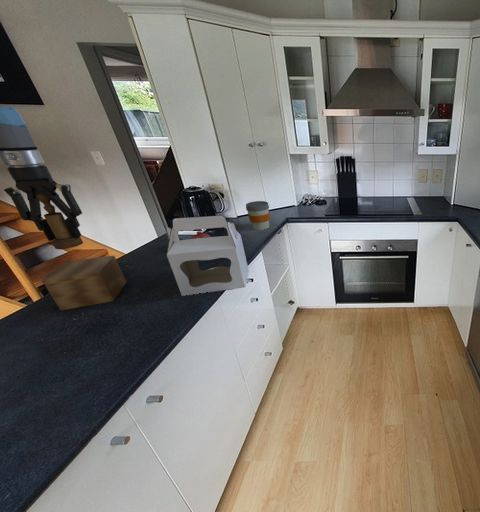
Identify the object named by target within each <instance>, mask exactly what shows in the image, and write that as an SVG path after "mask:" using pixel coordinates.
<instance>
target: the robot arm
mask: <svg viewBox="0 0 480 512" xmlns="http://www.w3.org/2000/svg"><path fill="white" fill-rule="evenodd" d="M0 158H1V160H2V162H3V164H4V165H5V166H7V171H8V173H9V175H10V176H11V178H12V180H14V182H15V186H10V187H6V188H4V190H3V191H4V192H5V193H6V194H7V195H8V196H9V197H10V198H11V200H12V202H13V204H14V206H15V208H16V210H17V212H18V214H19V215H20V217H21V219H22V220H23V221H25V222H26V221H29V222H30V221H31V222H32V223H34V225H35V227H36V228H37V230H38V231H39V232H43V234H44V235H45V237H46V239H47V241H48V242H52V241H54V239H55V238H56V237H55V235H54V233H53V231H52V230H51V228H50V226H49V224H48V222H47V221H46V219H45V218H44V216H43V215H42V209H41V202H40V201H39V200H37V199H36V196H37V195H38V194H42V195H44V196H46V197H47V198H48V199H49V200H51V201H50V202H52V203H53V205H54V206H55V207H57V209H58V210H59V211H60V212H61V213H62V215H63V216H65V217H66V218H64V219H65V221H66V222H67V224H68V226H69V228H70V230H71V232H72V234H73V236H74V238H78V237H81V236H82V233H81V231H80V229H79V227H80V226H81V224H80V222H79V220H78V218H77V217H79V216H81V215H82V214H83V211H82V209H81V207H80V206H79V204H78V202H77V201H76V198H75V196H74V195H73V193H72V187H71V185H70V184H67V183H66V184H62V183H57V182H56V180H54V179H53V176H52V174H51V172H50V170H49V168H48V166H47V165H45V160H44V158H43V156H42V155H41V152H40V151H39V149H38V147H37V146H36V144H35V141H34V139H33V137H32V134H31V133H30V130H29V129H28V126H27V123H26V122H25V121H24V119H23V118H22V116H21V114H20V112H19V111H18V110H17V109H16V108H14V107H11V106H1V105H0ZM57 189H58V191H59V192H61V195H62V196H63V198H64V200H65V201H64V200H63V199H62V197H60V194H58V192H56V190H57ZM22 192H23V193H25V194H26V199H27V201H28V203H29V205H28V204H27V202H26V200H25V198H24V196H23V194H22Z"/></svg>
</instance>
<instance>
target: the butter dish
mask: <svg viewBox="0 0 480 512" xmlns="http://www.w3.org/2000/svg"><path fill="white" fill-rule="evenodd" d="M209 237H211V236H210V234H208V233H203V231H201V230H199V231H196V234H194V235H192V236H191V237H190V239H197V238H209Z"/></svg>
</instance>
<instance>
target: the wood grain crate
mask: <svg viewBox="0 0 480 512" xmlns="http://www.w3.org/2000/svg"><path fill="white" fill-rule="evenodd" d="M41 282H42V283H43V285H44V287H45V288H46V290H47V291H48V293H49V294H50V296H51V297H52V299H53V301H54V302H55V304H56V305H57V307H58V309H59V310H60V311H66V310H72V309H76V308H82V307H87V306H88V307H89V306H95V305H99V304H104V303H110V302H111V303H112V302H114V301H115V299H116V298H117V297H118V296H119V294H120V293H121V292H122V290H123V288H124V287H125V286H126V284H127V280H126V278H125V276H124V273H123V272H122V269H121V267H120V265H119V263H118V261H117V258H116V256H115V255H107V256H101V257H92V258H85V259H77V260H71V261H70V260H69V261H64V262H63V263H61V264H60V265H59V266H58V267H56V269H54V270H53V271H52V272H50V273H49V274H48V275H47V276H45V277H44V278H43V279H41Z"/></svg>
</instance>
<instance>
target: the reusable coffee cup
mask: <svg viewBox="0 0 480 512" xmlns="http://www.w3.org/2000/svg"><path fill="white" fill-rule="evenodd" d="M245 209H246V211H247V216H248V219H249V222H251V225H252V228H253V230H255V231H264V229H265V230H268V229H269V228H270V219H271V218H270V217H271V216H270V215H271V214H270V205H269V202H268V201H265V200H255V201H250V202H247V203H246V204H245ZM267 228H268V229H267Z"/></svg>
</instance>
